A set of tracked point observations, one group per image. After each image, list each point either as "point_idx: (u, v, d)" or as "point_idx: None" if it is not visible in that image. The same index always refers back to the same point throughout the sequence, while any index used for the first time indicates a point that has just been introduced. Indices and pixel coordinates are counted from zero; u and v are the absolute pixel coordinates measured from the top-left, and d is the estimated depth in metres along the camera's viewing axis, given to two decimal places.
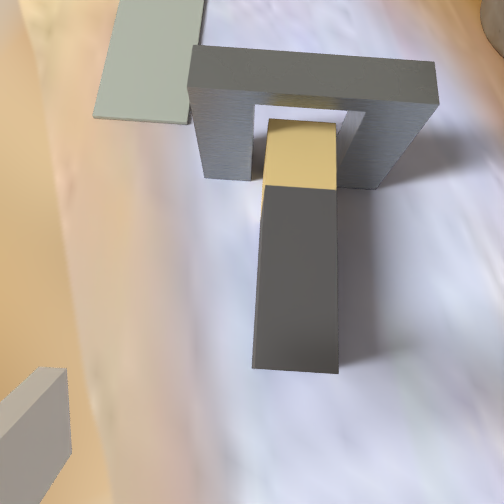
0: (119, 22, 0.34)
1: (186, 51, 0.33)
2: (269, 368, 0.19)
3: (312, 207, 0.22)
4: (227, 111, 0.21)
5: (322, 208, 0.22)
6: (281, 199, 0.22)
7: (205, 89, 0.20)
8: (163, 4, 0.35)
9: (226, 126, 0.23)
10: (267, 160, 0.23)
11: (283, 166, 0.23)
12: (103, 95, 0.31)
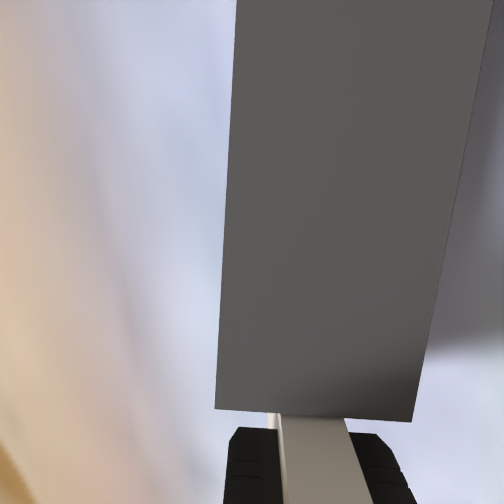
0: None
1: None
2: (249, 408, 0.08)
3: None
4: None
5: None
6: None
7: None
8: None
9: None
10: None
11: None
12: None
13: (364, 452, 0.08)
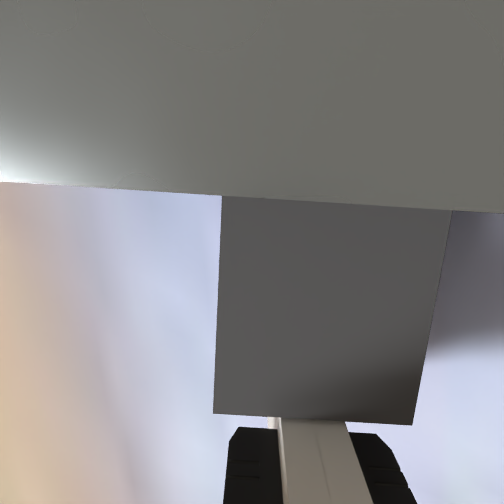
0: None
1: None
2: (248, 412, 0.08)
3: None
4: None
5: None
6: None
7: None
8: None
9: None
10: None
11: None
12: None
13: (364, 452, 0.08)
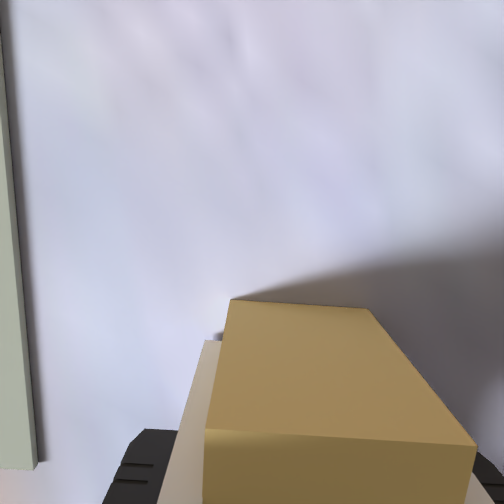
0: None
1: None
2: None
3: None
4: None
5: None
6: None
7: None
8: None
9: None
10: None
11: None
12: None
13: None
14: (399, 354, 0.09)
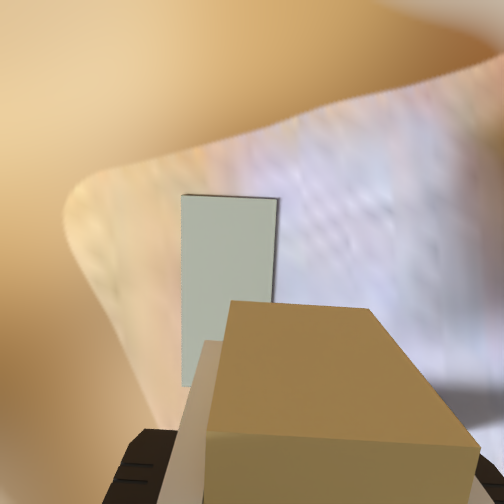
0: (186, 280, 0.32)
1: None
2: None
3: None
4: None
5: None
6: None
7: None
8: (229, 253, 0.31)
9: None
10: None
11: None
12: (187, 366, 0.34)
13: None
14: (401, 354, 0.09)
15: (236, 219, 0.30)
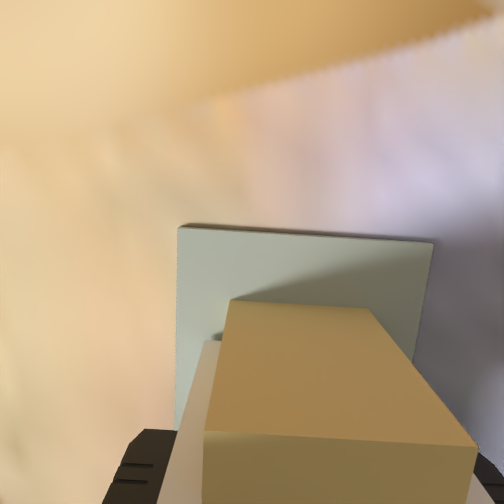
0: None
1: None
2: None
3: None
4: None
5: None
6: None
7: None
8: None
9: None
10: None
11: None
12: None
13: None
14: (399, 354, 0.09)
15: (321, 292, 0.12)
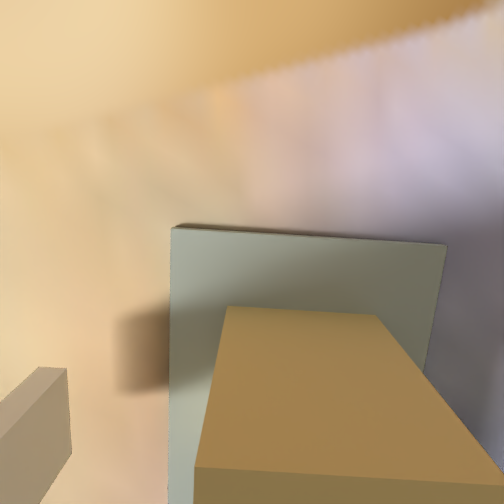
0: (181, 448, 0.12)
1: None
2: None
3: None
4: None
5: None
6: None
7: None
8: None
9: None
10: None
11: None
12: None
13: None
14: (413, 369, 0.08)
15: (325, 297, 0.11)
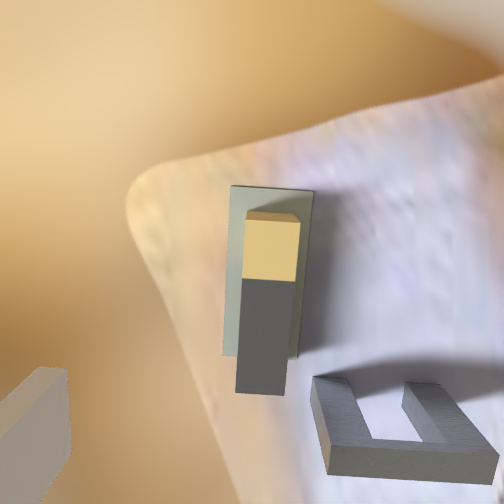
0: (231, 261, 0.36)
1: (294, 292, 0.37)
2: (243, 392, 0.33)
3: (276, 295, 0.31)
4: None
5: (283, 295, 0.31)
6: (253, 289, 0.31)
7: (339, 474, 0.31)
8: None
9: None
10: (243, 257, 0.30)
11: (255, 262, 0.30)
12: (228, 337, 0.38)
13: None
14: (295, 217, 0.32)
15: (277, 208, 0.35)
